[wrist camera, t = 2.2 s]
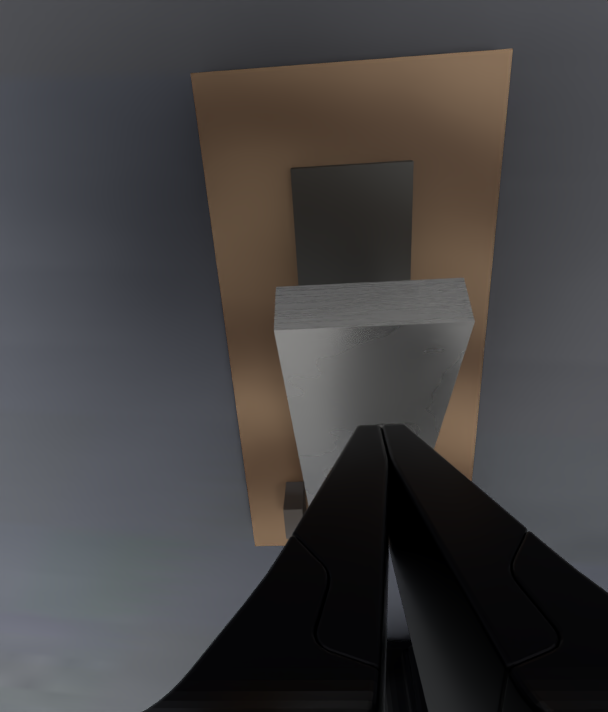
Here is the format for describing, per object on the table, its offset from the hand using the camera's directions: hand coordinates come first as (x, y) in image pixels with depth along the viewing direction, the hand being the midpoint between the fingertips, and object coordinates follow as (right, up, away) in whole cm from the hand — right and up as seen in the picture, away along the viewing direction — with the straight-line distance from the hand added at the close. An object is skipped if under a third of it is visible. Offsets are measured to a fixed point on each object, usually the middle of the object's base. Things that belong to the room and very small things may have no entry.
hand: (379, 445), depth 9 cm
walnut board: (+1, +2, +12) cm, 12 cm away
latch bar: (+1, -1, +8) cm, 8 cm away
